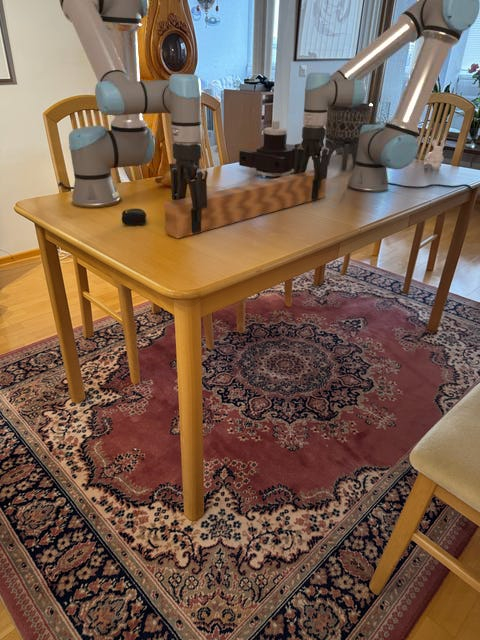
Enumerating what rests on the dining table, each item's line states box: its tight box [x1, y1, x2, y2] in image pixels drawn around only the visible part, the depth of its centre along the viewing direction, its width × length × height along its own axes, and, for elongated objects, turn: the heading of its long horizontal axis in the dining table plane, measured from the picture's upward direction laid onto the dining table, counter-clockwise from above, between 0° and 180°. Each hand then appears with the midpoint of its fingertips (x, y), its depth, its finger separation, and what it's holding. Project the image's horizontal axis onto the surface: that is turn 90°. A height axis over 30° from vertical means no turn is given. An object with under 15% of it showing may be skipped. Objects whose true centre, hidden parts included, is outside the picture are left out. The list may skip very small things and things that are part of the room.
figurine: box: [422, 138, 446, 171], centre depth 207 cm, size 8×15×13 cm, turn 146°
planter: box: [324, 102, 374, 172], centre depth 204 cm, size 20×20×26 cm
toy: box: [154, 170, 176, 188], centre depth 173 cm, size 11×6×15 cm
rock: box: [334, 147, 352, 155], centre depth 239 cm, size 13×9×6 cm, turn 131°
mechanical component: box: [238, 120, 304, 178], centre depth 191 cm, size 22×21×30 cm
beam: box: [164, 169, 328, 239], centre depth 142 cm, size 65×5×9 cm, turn 133°
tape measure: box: [121, 207, 147, 226], centre depth 133 cm, size 7×7×4 cm
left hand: (189, 228), depth 128 cm, fingers closed on beam, 5 cm apart
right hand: (307, 196), depth 160 cm, fingers closed on beam, 5 cm apart
